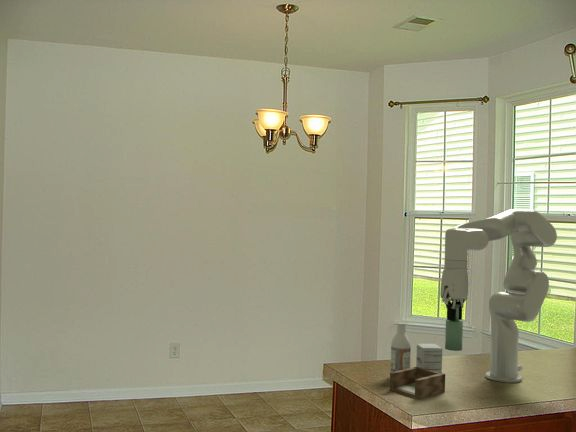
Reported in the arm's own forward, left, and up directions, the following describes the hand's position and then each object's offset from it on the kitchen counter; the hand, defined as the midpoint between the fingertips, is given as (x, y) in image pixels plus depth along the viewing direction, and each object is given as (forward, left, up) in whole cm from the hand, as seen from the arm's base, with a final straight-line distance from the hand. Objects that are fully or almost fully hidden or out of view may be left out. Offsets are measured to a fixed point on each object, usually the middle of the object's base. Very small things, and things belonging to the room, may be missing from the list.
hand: (454, 319), depth 206 cm
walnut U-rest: (+10, -7, -24) cm, 27 cm away
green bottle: (0, 0, -10) cm, 10 cm away
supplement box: (-4, -13, -24) cm, 28 cm away
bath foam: (+2, -21, -24) cm, 32 cm away
